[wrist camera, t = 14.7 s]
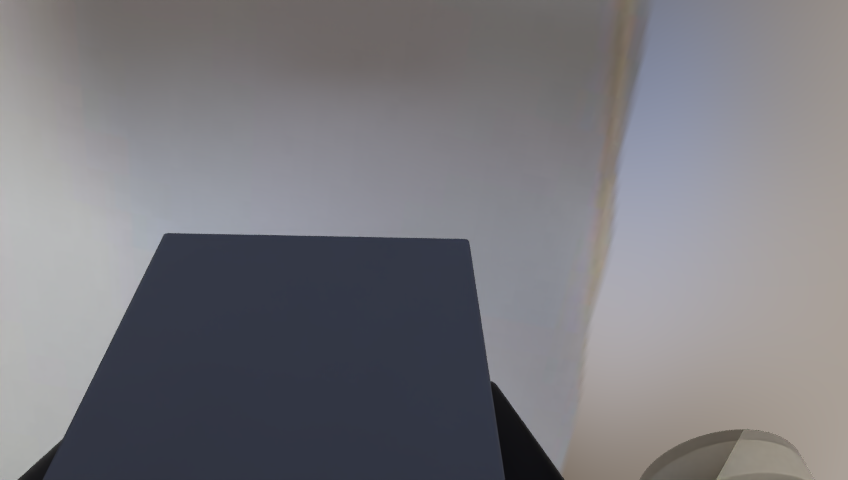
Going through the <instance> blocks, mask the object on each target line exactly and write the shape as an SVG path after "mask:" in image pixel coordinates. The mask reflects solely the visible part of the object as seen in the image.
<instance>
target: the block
mask: <svg viewBox="0 0 848 480" xmlns="http://www.w3.org/2000/svg"><path fill="white" fill-rule="evenodd" d="M43 480H505V475H504V469H503V462H502V456H501V449H500V442H499V436H498V429H497V423H496V416H495V409H494V403H493V396H492V389H491V383H490V376H489V370H488V363H487V356H486V350H485V343H484V337H483V330H482V323H481V317H480V310H479V304H478V297H477V290H476V284H475V277H474V270H473V264H472V257H471V251H470V244H469V241H468V240H466V239H435V238H384V237H333V236H282V235H231V234H180V233H167V234H164V236H163V238H162V240H161V242H160V244H159V246H158V248H157V250H156V252H155V254H154V256H153V258H152V260H151V262H150V264H149V266H148V268H147V270H146V272H145V274H144V276H143V278H142V280H141V282H140V284H139V286H138V288H137V290H136V292H135V294H134V296H133V298H132V300H131V302H130V304H129V306H128V308H127V310H126V312H125V315H124V317H123V319H122V321H121V323H120V325H119V327H118V329H117V331H116V333H115V335H114V337H113V339H112V341H111V343H110V345H109V347H108V349H107V351H106V353H105V355H104V357H103V359H102V361H101V363H100V365H99V367H98V369H97V371H96V373H95V375H94V377H93V379H92V381H91V383H90V385H89V387H88V389H87V391H86V393H85V395H84V397H83V399H82V401H81V403H80V405H79V407H78V409H77V411H76V413H75V416H74V418H73V420H72V422H71V424H70V426H69V428H68V430H67V432H66V434H65V436H64V438H63V440H62V442H61V444H60V446H59V448H58V450H57V452H56V454H55V456H54V458H53V460H52V462H51V464H50V466H49V468H48V470H47V472H46V474H45V476H44V478H43Z"/></svg>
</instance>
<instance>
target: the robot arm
mask: <svg viewBox="0 0 848 480" xmlns="http://www.w3.org/2000/svg"><path fill="white" fill-rule="evenodd" d="M490 383H491V389H492V396H493V403H494V409H495V416H496V423H497V429H498V436H499V442H500V449H501V456H502V462H503V469H504V475H505V480H564V478H563V477H562V476H561V474H560V473H559V471H558V470H557V469H556V467H555V466H554V464H553V463H552V462H551V460H550V459H549V457H548V456H547V455H546V453H545V452H544V450H543V449H542V448H541V446H540V445H539V443H538V442H537V441H536V439H535V438H534V436H533V435H532V434H531V432H530V431H529V429H528V428H527V427H526V425H525V424H524V422H523V421H522V420H521V418H520V417H519V415H518V414H517V413H516V411H515V410H514V408H513V407H512V406H511V404H510V403H509V401H508V400H507V399H506V397H505V396H504V394H503V393H502V392H501V390H500V389H499V387H498V386H497V385H496V384H495V383H494V382H492V381H490ZM62 440H63V439H62ZM62 440H61V441H60V442H59V443H58V444H57V445H56V446H55V447H53V448H52V449H51V450H50V451H49V452H48V453H47V454H46V455H45V456H43V457H42V458H41V459H40V460H39V461H38V462H37V463H36V464H35V465H33V466H32V467H31V468H30V469H29V470H28V471H27V472H26V473H25V474H24V475H22V476H21V477H20V478H19V479H18V480H43V478H44V476H45V474H46V472H47V470H48V468H49V466H50V464H51V462H52V460H53V458H54V456H55V454H56V452H57V450H58V448H59V446H60V444H61V442H62Z"/></svg>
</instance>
